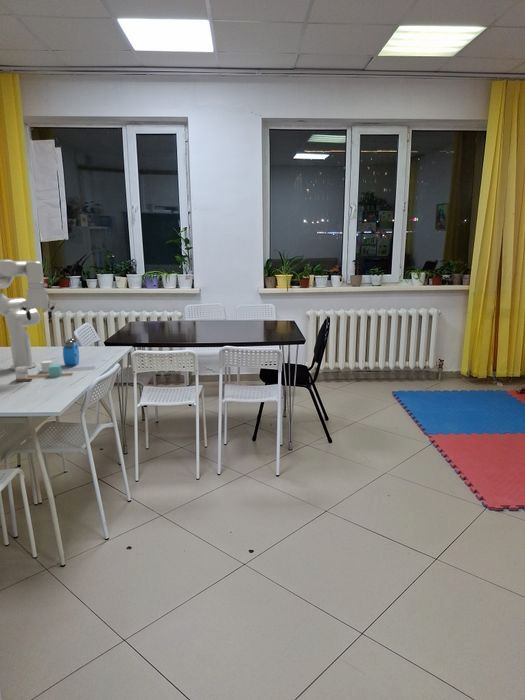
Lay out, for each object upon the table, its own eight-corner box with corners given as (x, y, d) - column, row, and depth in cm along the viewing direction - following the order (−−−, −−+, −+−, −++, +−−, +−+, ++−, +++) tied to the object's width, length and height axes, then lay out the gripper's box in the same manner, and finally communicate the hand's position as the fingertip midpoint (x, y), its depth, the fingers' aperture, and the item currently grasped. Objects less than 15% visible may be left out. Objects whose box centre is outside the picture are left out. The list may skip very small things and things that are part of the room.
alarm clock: (69, 363, 264) (66, 337, 261) (80, 362, 265) (78, 336, 262) (64, 369, 252) (61, 342, 248) (76, 368, 253) (73, 341, 250)
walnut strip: (18, 377, 235) (17, 366, 234) (73, 374, 241) (72, 363, 240) (15, 381, 228) (13, 370, 227) (71, 377, 235) (70, 366, 233)
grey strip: (44, 371, 247) (42, 360, 246) (95, 368, 253) (94, 357, 252) (41, 374, 240) (40, 363, 239) (94, 371, 247) (93, 360, 245)
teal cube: (51, 374, 238) (50, 364, 236) (61, 373, 239) (60, 364, 238) (49, 377, 233) (48, 367, 232) (60, 376, 234) (59, 366, 233)
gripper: (55, 285, 242) (59, 317, 245) (19, 285, 237) (23, 319, 241) (53, 286, 234) (56, 319, 238) (15, 287, 230) (19, 321, 234)
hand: (39, 319), depth 240 cm, fingers open, 9 cm apart
